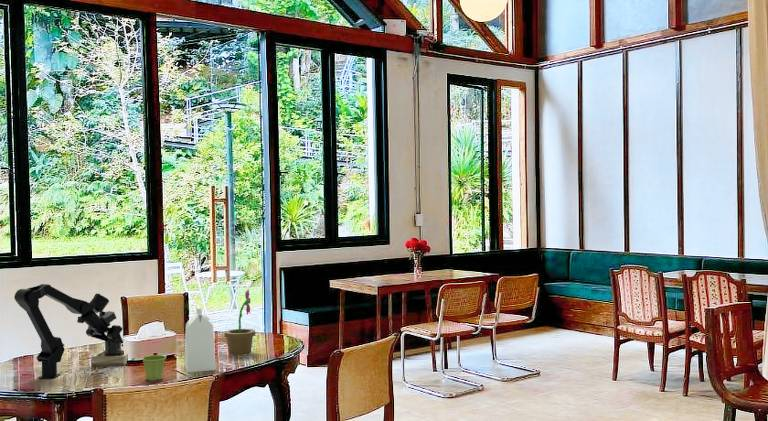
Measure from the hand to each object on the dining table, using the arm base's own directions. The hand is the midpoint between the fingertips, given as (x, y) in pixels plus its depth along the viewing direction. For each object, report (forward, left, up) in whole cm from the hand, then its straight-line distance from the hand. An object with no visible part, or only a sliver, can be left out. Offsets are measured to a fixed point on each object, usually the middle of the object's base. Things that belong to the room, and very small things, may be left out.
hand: (115, 341), depth 325 cm
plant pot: (-34, -27, -9) cm, 45 cm away
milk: (-16, -41, -9) cm, 45 cm away
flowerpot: (+14, -53, -9) cm, 56 cm away
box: (-1, +1, -9) cm, 9 cm away
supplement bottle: (-1, +1, -8) cm, 8 cm away
